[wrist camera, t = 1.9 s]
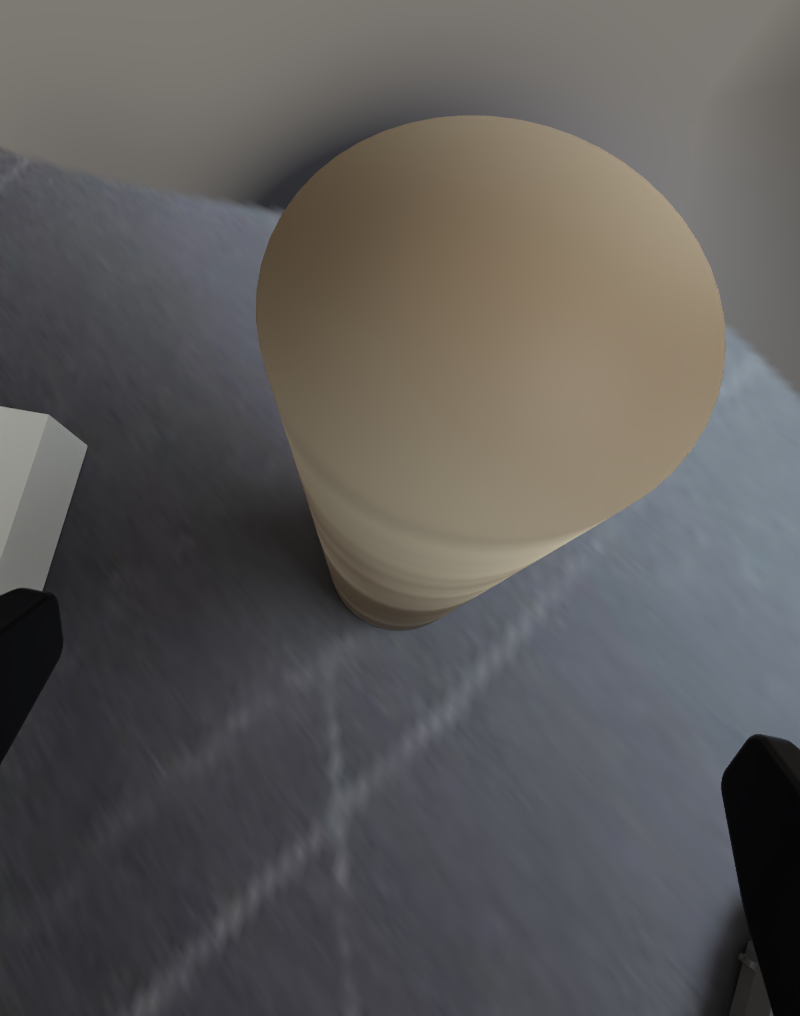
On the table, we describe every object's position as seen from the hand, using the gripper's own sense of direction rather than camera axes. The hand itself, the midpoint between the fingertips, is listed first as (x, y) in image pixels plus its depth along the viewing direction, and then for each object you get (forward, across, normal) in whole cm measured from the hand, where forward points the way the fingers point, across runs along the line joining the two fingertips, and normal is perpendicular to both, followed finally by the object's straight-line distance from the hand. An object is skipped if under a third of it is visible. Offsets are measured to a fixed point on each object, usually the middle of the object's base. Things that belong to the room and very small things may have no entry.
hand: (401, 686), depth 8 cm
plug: (+10, 0, +5) cm, 11 cm away
